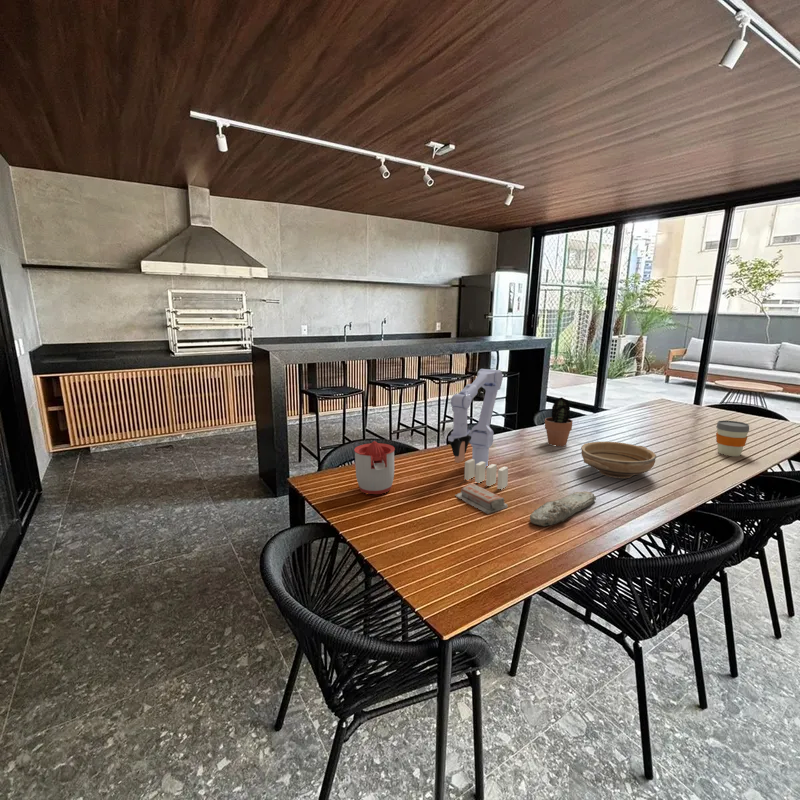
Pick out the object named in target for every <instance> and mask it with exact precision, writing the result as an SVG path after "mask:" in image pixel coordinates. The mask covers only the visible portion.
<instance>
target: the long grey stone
mask: <svg viewBox="0 0 800 800" xmlns="http://www.w3.org/2000/svg"><path fill="white" fill-rule="evenodd" d="M596 497H597V496H596V495H595V494H594V493H593V492H591V491H576V492H573V493H570V494H568V495H566V496H563V497H560V498H558V499H556V500H552V501H546V502H545V503H543V504H542V505H540V506H539V507H537V509H535V510H533V511H532V513H531V514H530V515H529V520H530V522H531V524H533V525H536V526H541V527H547V526H551V525H556V524H558V523H560V522H565V520H567V519H568V518H570V517H572V516H574V514H575V513H578V512H581V511H582V509H583V510H584V509H585V508H587V507H589V506H590V505H592V504H594V502H595V501H596V500H597V498H596Z"/></svg>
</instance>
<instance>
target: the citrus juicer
mask: <svg viewBox="0 0 800 800" xmlns="http://www.w3.org/2000/svg"><path fill="white" fill-rule="evenodd" d="M395 448H396V447H394V445H391V444H387V443H381V442H380V443H378V442H377V441H376V440H373V441H372V442H371V443H365V444H361V445H357V446H355V448H354V449H353V450H354V459H355V460H354V462H355V463H354V464H355V466H354V467H355V477H356V480H357V481H356V482H357V484H358V487H359V490H360V491H362V492H364V493H368V494H382V493H385V492H388V491H389V490H390V491H391V489H392V486H393V482H394V478H395V450H396V449H395ZM390 491H389V492H390ZM362 492H361V493H362ZM389 492H388V493H389ZM364 493H363V494H364ZM385 494H386V493H385ZM382 495H383V494H382Z"/></svg>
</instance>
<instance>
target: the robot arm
mask: <svg viewBox="0 0 800 800" xmlns="http://www.w3.org/2000/svg"><path fill="white" fill-rule="evenodd" d="M503 377H504V376H503V372H502V371H501V369H489V368H480V369H478V371H477V374H476V378H475V379H474V380H473V382H472V383H467V384H466V385H465V386H464V388H462V389H461V390H460V392H459V393H454V394H453V395H452V396H451V400H450V406H451V409H452V413H453V414H452V415H453V417H452V418H453V419H452V420H453V422H452V426H453V427H452V429H453V430H452V431H451V432H450V435H448V437H447V438H448V443H449V445H450V448H451V450H452V453H453V456H454V457H455V456H459V451H460V446H461V443H462V441H464V442H465V454H466V453H467V450H468V445H469V444H470V447H472V451H471V453H472V454H471V455H472V458H471V459H474V460H475V465H476V464H477V463H479V462H481V461H483V462H486V466H488V461H489V455H490V451H489V450H490V449H489V448H491V446H493V443H494V430H493V429H492V428H491V427H490V425H491V420H492V418H493V417H492V416H493V412H494V408H495V403H496V400H497V399H496V398H497V395H498V392H499V390H501V386H502V383H503V379H504V378H503ZM480 388H483V389H484V390H485V394H484V397H483V398H484V399H483V401H482V406H481V410H480V414H479V419H478V422H477V424H475V425H474V426H472V427H471V429H469V428H468V409H469V408H470V407H471V403H472V401H473V399H474V398H475V397H476V396H477V395H478V393H479V392H478V391H479V389H480Z"/></svg>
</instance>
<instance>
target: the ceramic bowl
mask: <svg viewBox="0 0 800 800" xmlns="http://www.w3.org/2000/svg"><path fill="white" fill-rule="evenodd" d="M580 447H581V448H580V449H581V453H580V454H581V457H582V459H583V463H585V464H586V465H588V466H589V467H591V468H592V469H595V470H597V471H598V472H599V473H600V474H601V475H602V476H603V475H604V476H606V477H609V478H612V479H613V478H614V479H630V478H632V477H633V476H637V475H641V474H644V473H648V471H650V470H651V469H653V467H654V465H655V464H656V459H657V454H656V453H655V452H654V451H652V450H650V449H649V448H647V447H645V446H643V445H636V444H630V443H625V442H619V441H618V442H617V441H592V442H588V443H587V442H586V443H583V445H581V446H580Z"/></svg>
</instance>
